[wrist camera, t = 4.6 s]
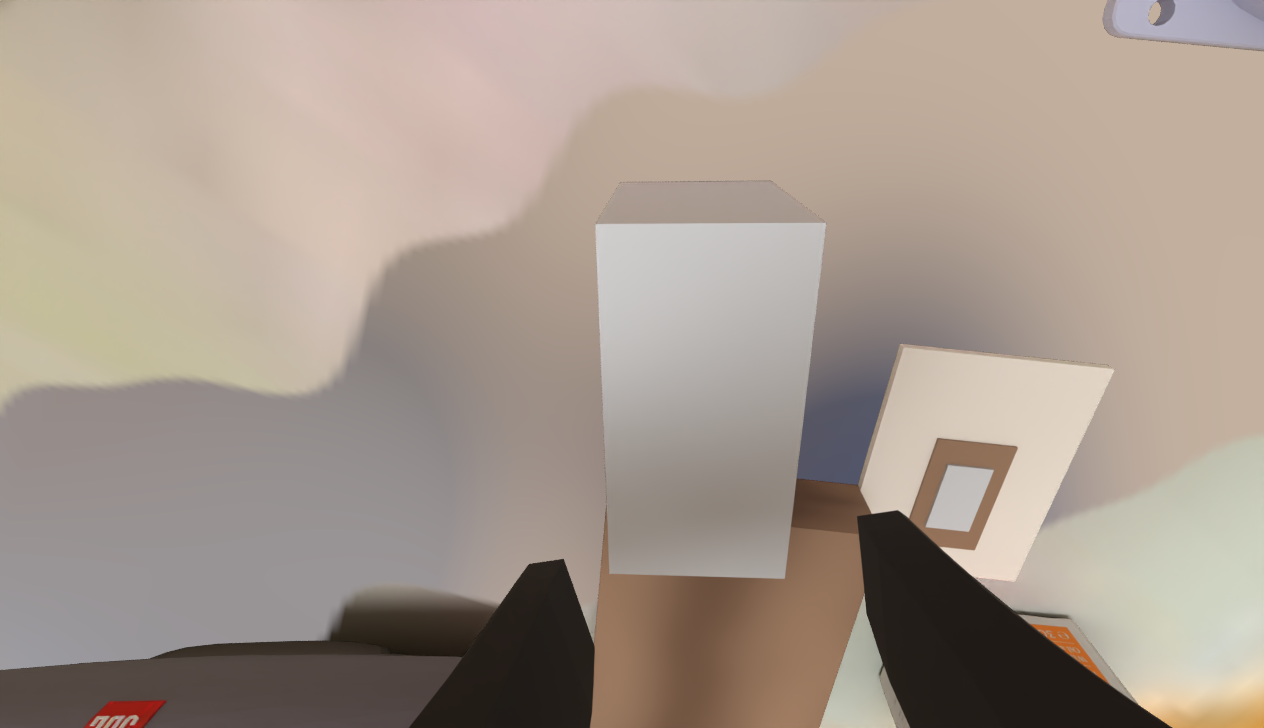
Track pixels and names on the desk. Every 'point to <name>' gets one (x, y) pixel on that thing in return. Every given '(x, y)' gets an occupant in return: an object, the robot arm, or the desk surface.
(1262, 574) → the desk surface
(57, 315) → the desk surface
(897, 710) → the skincare box
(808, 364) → the brick
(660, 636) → the base slab
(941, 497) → the cream rectangular panel
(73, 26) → the desk surface
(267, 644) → the bluetooth speaker
